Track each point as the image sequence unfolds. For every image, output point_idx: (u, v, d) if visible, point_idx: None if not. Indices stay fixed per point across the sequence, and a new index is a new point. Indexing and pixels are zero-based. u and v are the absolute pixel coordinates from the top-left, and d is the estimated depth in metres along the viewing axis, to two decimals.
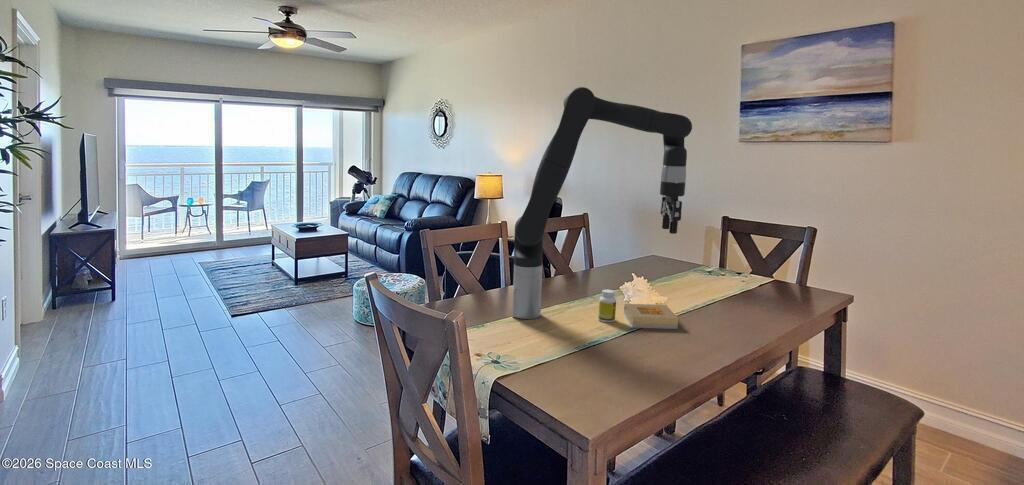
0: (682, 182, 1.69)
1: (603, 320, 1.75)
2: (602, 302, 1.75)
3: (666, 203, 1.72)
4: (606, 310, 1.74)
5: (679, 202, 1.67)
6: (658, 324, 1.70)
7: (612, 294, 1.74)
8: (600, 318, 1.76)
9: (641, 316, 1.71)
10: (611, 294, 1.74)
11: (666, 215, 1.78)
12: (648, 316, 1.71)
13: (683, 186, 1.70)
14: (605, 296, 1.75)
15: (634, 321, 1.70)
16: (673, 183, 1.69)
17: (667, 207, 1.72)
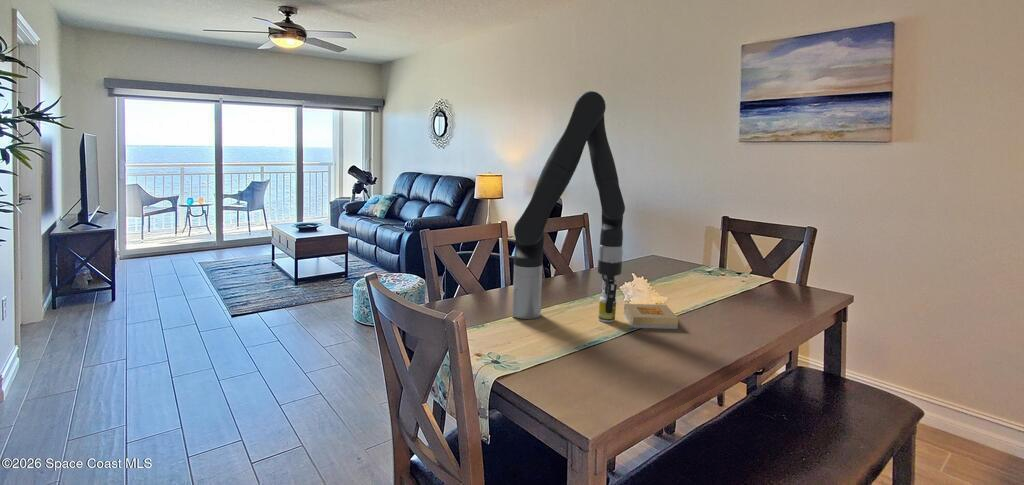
0: (618, 262, 1.71)
1: (603, 320, 1.75)
2: (602, 302, 1.75)
3: (603, 281, 1.74)
4: None
5: (614, 286, 1.68)
6: (658, 324, 1.70)
7: None
8: (600, 318, 1.76)
9: (641, 316, 1.71)
10: None
11: None
12: (648, 316, 1.71)
13: (619, 265, 1.71)
14: (605, 296, 1.75)
15: (634, 321, 1.70)
16: (609, 263, 1.70)
17: (604, 286, 1.74)
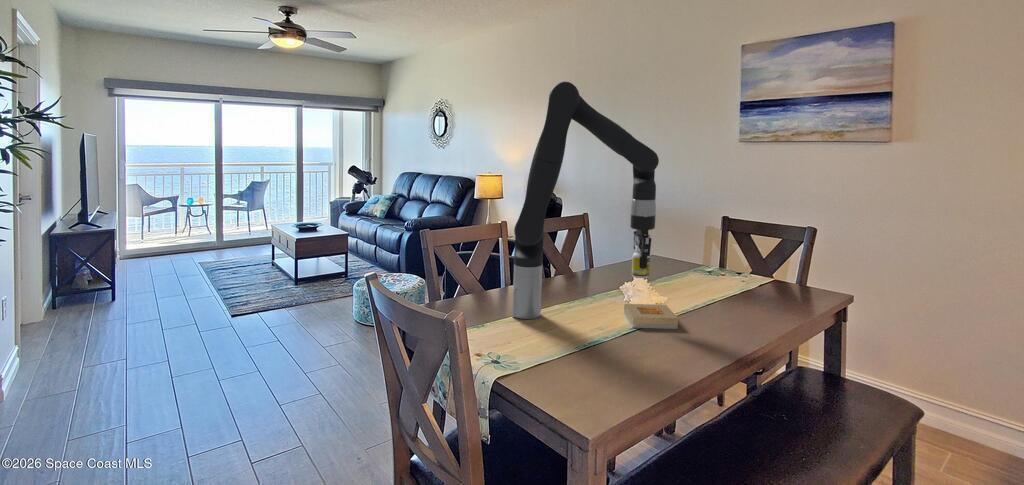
0: (652, 215, 1.68)
1: (637, 276, 1.72)
2: (635, 257, 1.72)
3: (637, 236, 1.71)
4: None
5: (648, 239, 1.66)
6: (658, 324, 1.70)
7: None
8: (634, 274, 1.73)
9: (641, 316, 1.71)
10: None
11: None
12: (648, 316, 1.71)
13: (653, 219, 1.68)
14: (638, 252, 1.72)
15: (634, 321, 1.70)
16: (642, 217, 1.67)
17: (637, 241, 1.71)
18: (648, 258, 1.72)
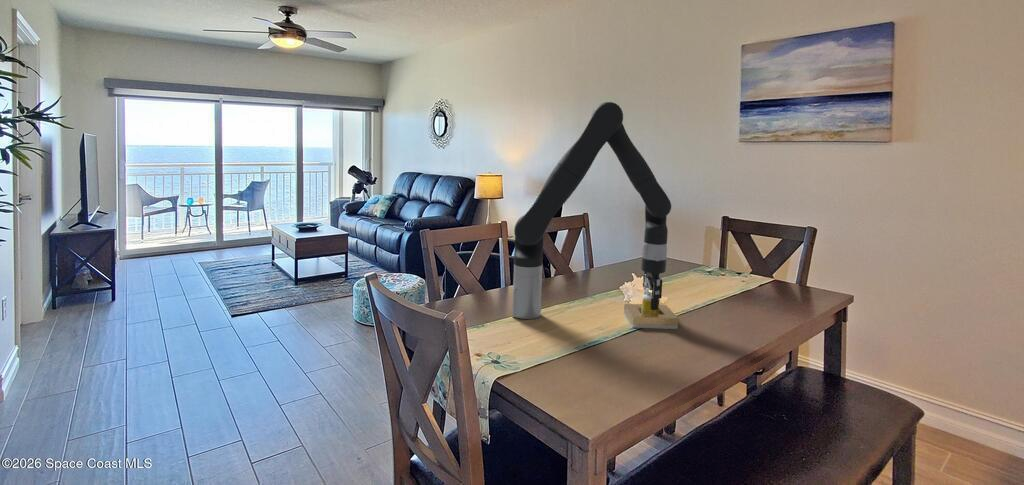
0: (663, 260, 1.70)
1: None
2: (645, 300, 1.74)
3: (647, 279, 1.73)
4: None
5: (659, 281, 1.68)
6: (658, 324, 1.70)
7: (656, 292, 1.74)
8: None
9: (641, 316, 1.71)
10: (655, 292, 1.74)
11: None
12: (648, 316, 1.71)
13: (664, 263, 1.71)
14: (648, 294, 1.74)
15: (634, 321, 1.70)
16: (654, 261, 1.70)
17: (648, 283, 1.73)
18: (658, 301, 1.74)
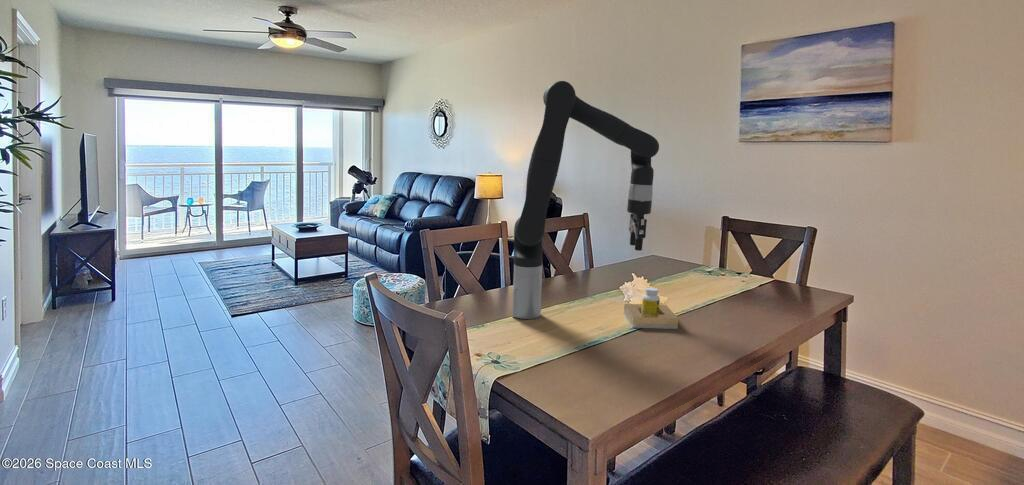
0: (648, 200, 1.73)
1: None
2: (645, 300, 1.74)
3: (632, 220, 1.76)
4: (650, 308, 1.74)
5: (644, 220, 1.70)
6: (658, 324, 1.70)
7: (656, 292, 1.74)
8: None
9: (641, 316, 1.71)
10: (655, 292, 1.74)
11: (634, 232, 1.82)
12: (648, 316, 1.71)
13: (649, 204, 1.73)
14: (648, 294, 1.74)
15: (634, 321, 1.70)
16: (639, 201, 1.72)
17: (633, 224, 1.75)
18: (658, 301, 1.74)
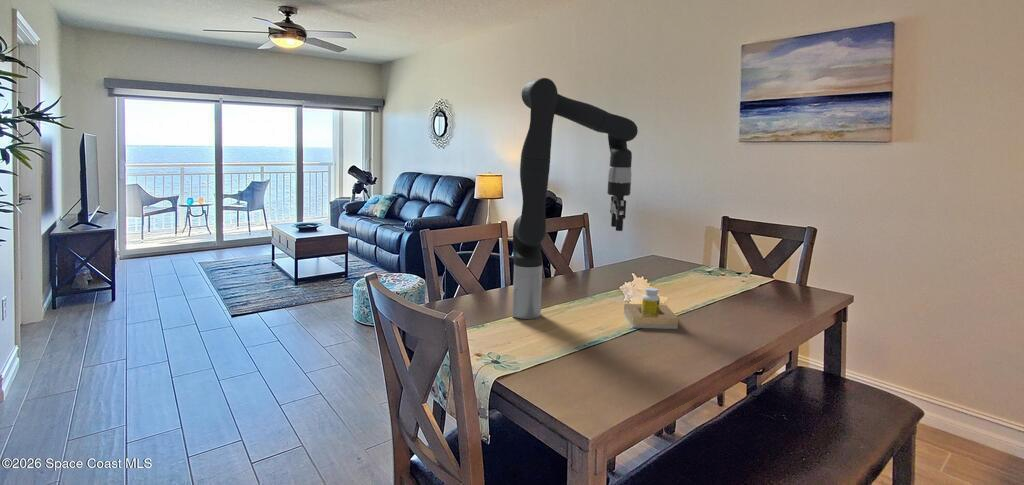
0: (627, 182, 1.79)
1: None
2: (645, 300, 1.74)
3: (613, 202, 1.82)
4: (650, 308, 1.74)
5: (623, 201, 1.77)
6: (658, 324, 1.70)
7: (656, 292, 1.74)
8: None
9: (641, 316, 1.71)
10: (655, 292, 1.74)
11: (615, 213, 1.88)
12: (648, 316, 1.71)
13: (628, 186, 1.80)
14: (648, 294, 1.74)
15: (634, 321, 1.70)
16: (618, 183, 1.79)
17: (614, 206, 1.82)
18: (658, 301, 1.74)
